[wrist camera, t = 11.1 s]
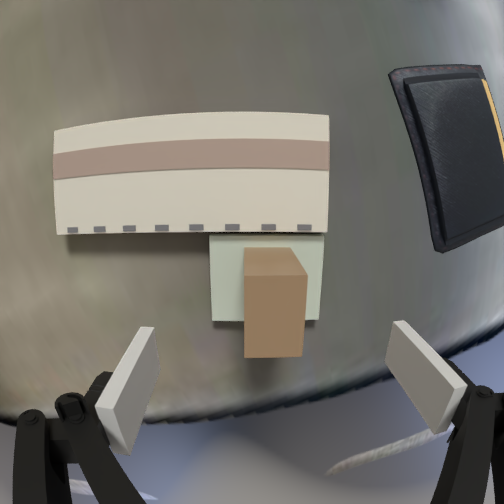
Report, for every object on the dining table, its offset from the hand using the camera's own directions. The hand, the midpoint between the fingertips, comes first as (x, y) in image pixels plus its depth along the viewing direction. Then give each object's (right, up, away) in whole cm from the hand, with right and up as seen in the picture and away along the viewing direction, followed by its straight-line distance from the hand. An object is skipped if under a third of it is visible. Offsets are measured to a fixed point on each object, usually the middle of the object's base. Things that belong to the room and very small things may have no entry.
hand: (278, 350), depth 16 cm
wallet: (+22, +16, +11) cm, 30 cm away
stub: (0, +3, +13) cm, 14 cm away
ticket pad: (-7, +12, +11) cm, 18 cm away
